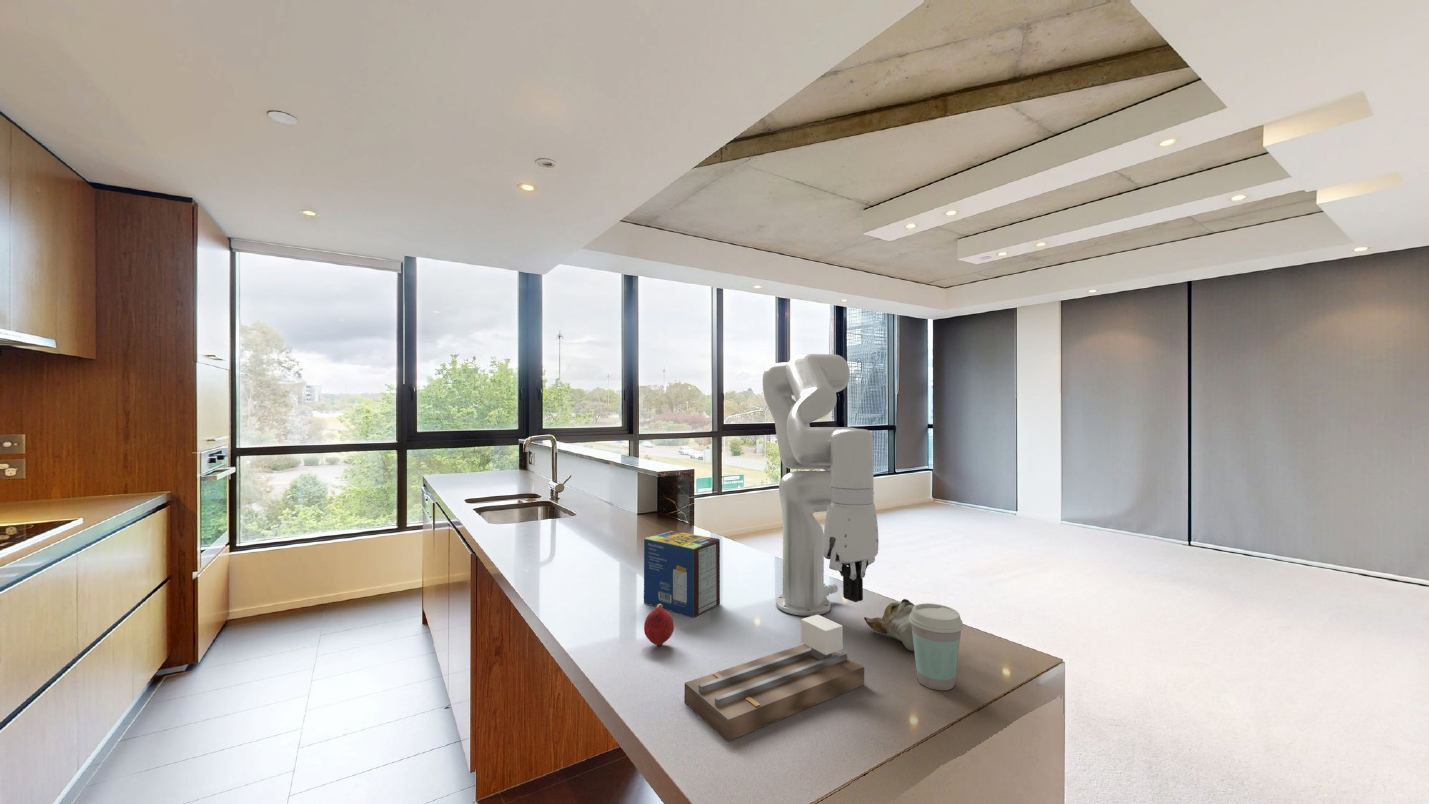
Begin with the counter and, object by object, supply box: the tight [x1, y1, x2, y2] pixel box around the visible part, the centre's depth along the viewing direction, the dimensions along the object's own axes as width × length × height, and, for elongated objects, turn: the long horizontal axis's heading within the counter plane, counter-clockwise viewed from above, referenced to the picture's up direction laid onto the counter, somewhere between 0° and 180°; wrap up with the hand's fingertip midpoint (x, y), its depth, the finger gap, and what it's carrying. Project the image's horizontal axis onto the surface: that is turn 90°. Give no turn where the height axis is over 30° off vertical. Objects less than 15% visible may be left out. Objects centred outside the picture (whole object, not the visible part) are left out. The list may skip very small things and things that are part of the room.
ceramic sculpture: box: [863, 598, 916, 652], centre depth 108 cm, size 11×9×15 cm
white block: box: [800, 614, 844, 660], centre depth 94 cm, size 4×6×6 cm, turn 34°
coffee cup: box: [909, 602, 964, 691], centre depth 92 cm, size 8×9×12 cm
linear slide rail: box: [683, 643, 865, 742], centre depth 88 cm, size 28×12×4 cm, turn 124°
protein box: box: [643, 530, 721, 619], centre depth 128 cm, size 10×15×16 cm
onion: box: [643, 604, 675, 647], centre depth 105 cm, size 6×6×8 cm
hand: (852, 599), depth 97 cm, fingers closed
